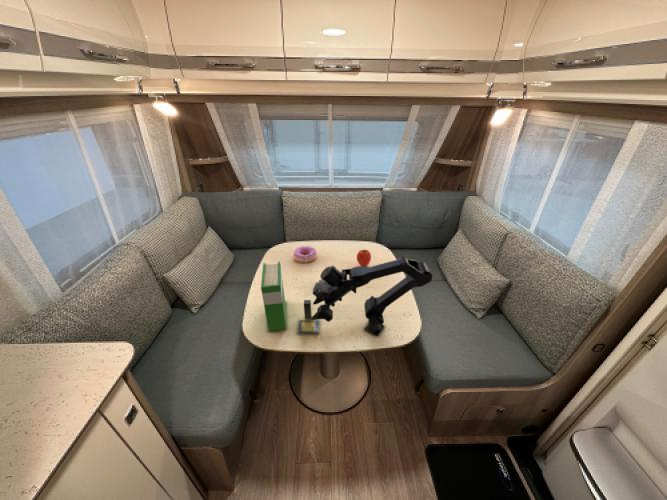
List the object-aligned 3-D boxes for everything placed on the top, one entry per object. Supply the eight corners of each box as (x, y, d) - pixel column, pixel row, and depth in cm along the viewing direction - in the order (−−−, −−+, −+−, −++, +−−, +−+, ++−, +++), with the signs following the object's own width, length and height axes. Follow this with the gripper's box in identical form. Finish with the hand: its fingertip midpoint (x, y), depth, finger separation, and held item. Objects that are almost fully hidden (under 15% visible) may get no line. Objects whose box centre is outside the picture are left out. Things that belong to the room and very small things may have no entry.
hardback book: (270, 304, 131) (263, 263, 119) (285, 302, 132) (280, 261, 120) (268, 331, 116) (260, 287, 104) (285, 329, 117) (280, 285, 105)
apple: (361, 260, 164) (362, 245, 159) (373, 265, 160) (374, 250, 154) (353, 266, 159) (354, 251, 153) (365, 272, 154) (366, 256, 148)
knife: (312, 324, 118) (311, 299, 111) (312, 328, 116) (310, 303, 109) (305, 324, 118) (303, 299, 111) (305, 328, 116) (303, 303, 109)
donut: (292, 253, 172) (291, 246, 169) (313, 250, 176) (313, 243, 173) (296, 265, 160) (295, 258, 158) (319, 261, 164) (319, 254, 161)
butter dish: (319, 321, 120) (318, 315, 119) (317, 333, 114) (317, 327, 112) (300, 321, 121) (300, 315, 119) (298, 333, 114) (297, 327, 113)
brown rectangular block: (334, 289, 140) (334, 283, 138) (326, 292, 138) (326, 286, 136) (326, 282, 145) (326, 276, 143) (319, 286, 143) (318, 280, 141)
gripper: (325, 266, 112) (301, 286, 118) (322, 295, 96) (295, 317, 102) (343, 281, 116) (319, 300, 122) (344, 311, 100) (316, 332, 106)
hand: (312, 311), depth 113 cm, fingers open, 9 cm apart
